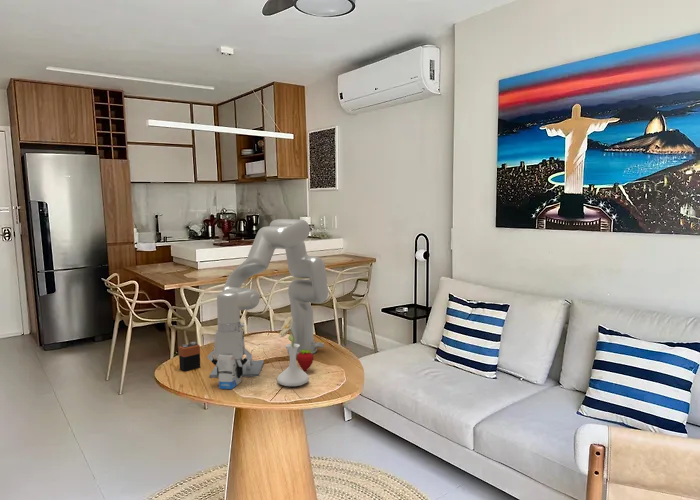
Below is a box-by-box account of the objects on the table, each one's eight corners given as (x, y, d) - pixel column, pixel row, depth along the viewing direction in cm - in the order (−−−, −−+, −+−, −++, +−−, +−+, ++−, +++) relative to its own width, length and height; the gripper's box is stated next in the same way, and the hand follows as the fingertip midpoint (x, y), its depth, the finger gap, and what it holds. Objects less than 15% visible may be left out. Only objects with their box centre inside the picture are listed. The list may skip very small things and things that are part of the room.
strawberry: (307, 367, 188) (306, 342, 187) (316, 372, 182) (316, 347, 181) (293, 370, 185) (293, 344, 184) (303, 376, 178) (302, 349, 178)
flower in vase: (280, 377, 177) (278, 310, 175) (310, 378, 176) (310, 310, 174) (273, 391, 164) (272, 319, 162) (306, 391, 163) (305, 319, 161)
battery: (200, 367, 188) (200, 342, 187) (184, 371, 184) (183, 346, 183) (195, 365, 191) (194, 340, 191) (179, 369, 187) (178, 344, 186)
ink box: (231, 389, 165) (230, 356, 164) (218, 388, 166) (217, 355, 165) (242, 381, 173) (241, 349, 172) (229, 380, 174) (228, 348, 173)
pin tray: (263, 362, 194) (263, 351, 194) (258, 376, 178) (258, 364, 178) (218, 363, 193) (218, 352, 193) (209, 377, 177) (209, 365, 177)
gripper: (255, 323, 172) (256, 372, 174) (206, 324, 171) (207, 374, 173) (252, 329, 165) (253, 380, 166) (201, 330, 164) (202, 381, 165)
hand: (230, 376), depth 169 cm, fingers closed on ink box, 5 cm apart
